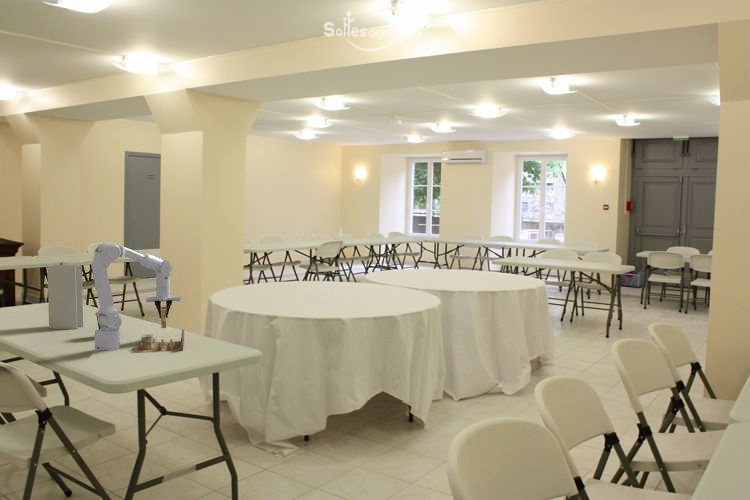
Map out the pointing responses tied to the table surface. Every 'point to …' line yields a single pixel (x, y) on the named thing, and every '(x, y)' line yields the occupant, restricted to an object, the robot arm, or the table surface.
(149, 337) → the upper offcut
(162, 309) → the plywood sheet
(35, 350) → the table surface
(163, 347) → the walnut rack
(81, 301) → the tall grey upright box
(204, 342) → the table surface
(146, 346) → the block
